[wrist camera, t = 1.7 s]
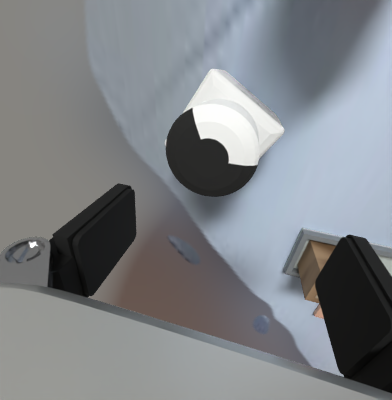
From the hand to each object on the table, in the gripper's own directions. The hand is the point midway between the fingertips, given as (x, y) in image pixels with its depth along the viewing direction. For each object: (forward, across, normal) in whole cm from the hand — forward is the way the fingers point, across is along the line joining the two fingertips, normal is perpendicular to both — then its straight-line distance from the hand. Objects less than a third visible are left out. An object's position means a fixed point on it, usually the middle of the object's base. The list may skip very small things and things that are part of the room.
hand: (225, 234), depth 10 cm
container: (+19, +2, -1) cm, 19 cm away
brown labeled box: (+18, -14, +14) cm, 27 cm away
